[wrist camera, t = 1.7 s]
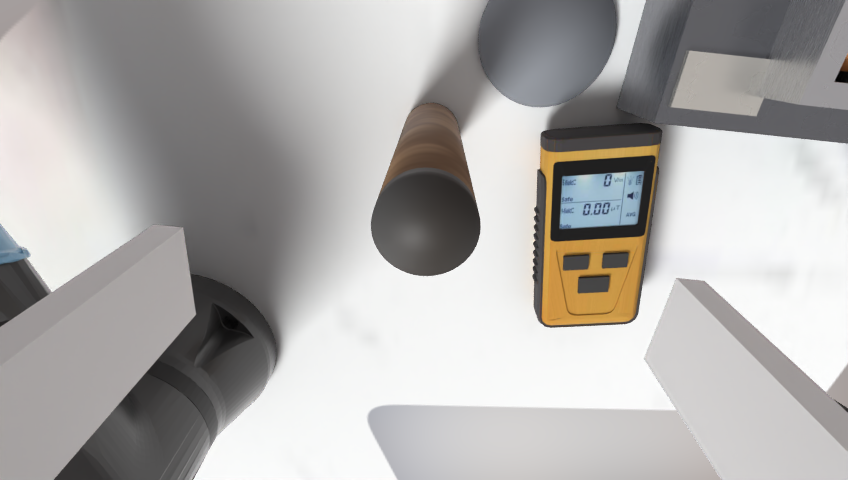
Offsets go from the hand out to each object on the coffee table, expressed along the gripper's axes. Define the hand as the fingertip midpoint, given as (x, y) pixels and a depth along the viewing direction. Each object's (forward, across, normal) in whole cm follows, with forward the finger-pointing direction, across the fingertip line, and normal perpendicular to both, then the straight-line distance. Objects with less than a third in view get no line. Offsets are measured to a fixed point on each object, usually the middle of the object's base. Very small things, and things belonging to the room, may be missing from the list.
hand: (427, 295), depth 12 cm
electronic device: (+24, +14, -13) cm, 31 cm away
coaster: (+22, +7, +7) cm, 25 cm away
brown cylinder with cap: (+22, 0, 0) cm, 23 cm away
